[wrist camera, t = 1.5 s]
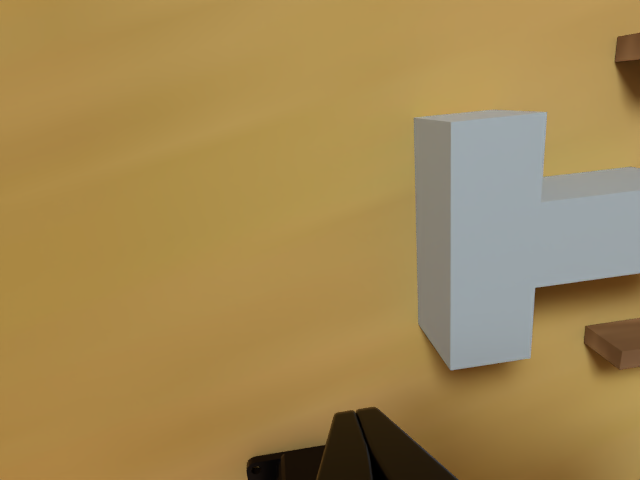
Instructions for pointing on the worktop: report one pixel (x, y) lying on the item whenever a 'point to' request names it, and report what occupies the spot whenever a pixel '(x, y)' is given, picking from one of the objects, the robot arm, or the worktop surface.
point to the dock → (628, 335)
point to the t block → (508, 231)
